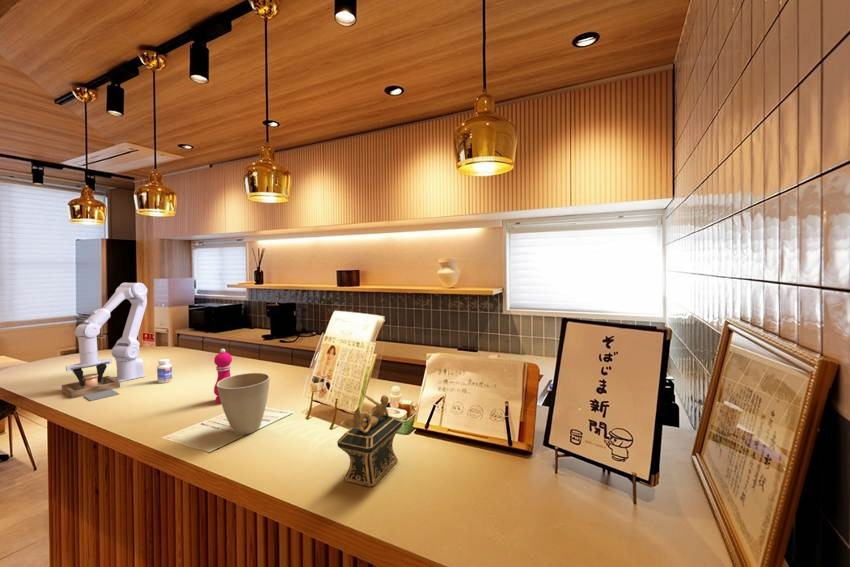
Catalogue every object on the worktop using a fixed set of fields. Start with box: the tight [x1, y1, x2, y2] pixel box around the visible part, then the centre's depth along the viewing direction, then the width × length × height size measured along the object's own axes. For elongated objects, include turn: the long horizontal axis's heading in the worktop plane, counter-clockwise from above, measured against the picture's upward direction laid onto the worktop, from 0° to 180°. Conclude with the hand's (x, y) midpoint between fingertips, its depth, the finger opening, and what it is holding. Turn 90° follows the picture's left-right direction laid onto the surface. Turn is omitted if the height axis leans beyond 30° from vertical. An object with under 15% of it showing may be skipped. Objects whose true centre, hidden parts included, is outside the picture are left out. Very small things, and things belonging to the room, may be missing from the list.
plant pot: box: [217, 372, 271, 436], centre depth 119 cm, size 15×15×16 cm
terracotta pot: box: [83, 373, 99, 389], centre depth 161 cm, size 5×5×6 cm
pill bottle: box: [156, 358, 173, 384], centre depth 170 cm, size 5×5×10 cm
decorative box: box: [336, 388, 403, 488], centre depth 94 cm, size 20×10×20 cm, turn 157°
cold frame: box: [61, 375, 121, 399], centre depth 161 cm, size 15×15×2 cm
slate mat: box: [83, 389, 120, 402], centre depth 154 cm, size 9×9×1 cm
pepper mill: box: [213, 348, 233, 405], centre depth 145 cm, size 7×7×20 cm
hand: (90, 384), depth 161 cm, fingers closed on terracotta pot, 5 cm apart
